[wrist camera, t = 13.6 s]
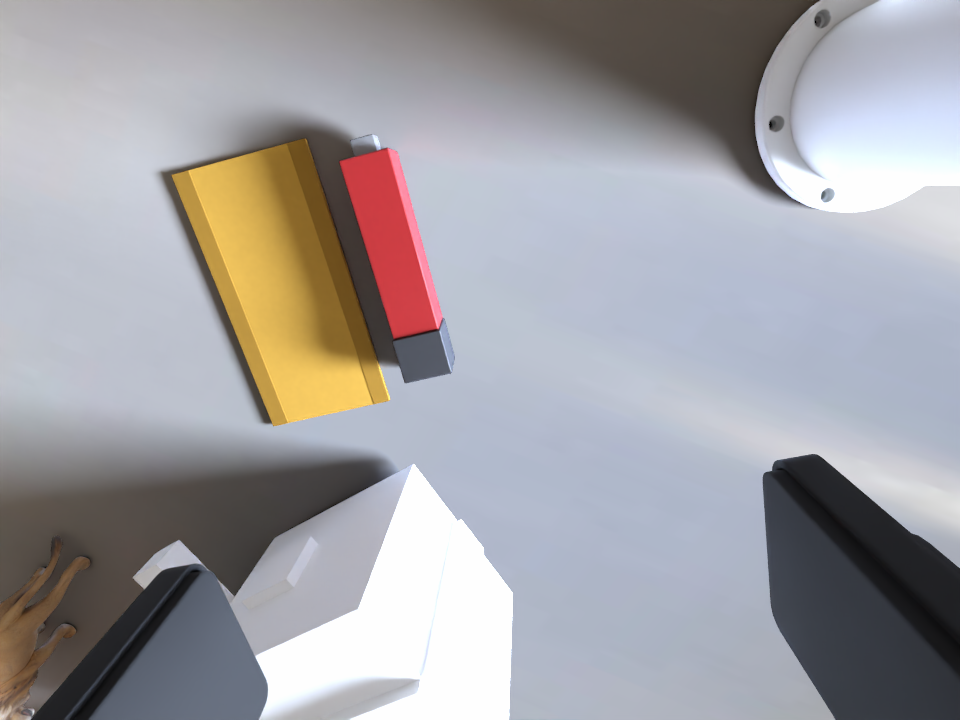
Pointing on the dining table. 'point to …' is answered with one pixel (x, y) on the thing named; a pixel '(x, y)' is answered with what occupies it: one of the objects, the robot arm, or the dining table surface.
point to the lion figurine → (30, 634)
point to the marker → (397, 259)
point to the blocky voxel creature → (374, 612)
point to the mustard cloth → (284, 281)
